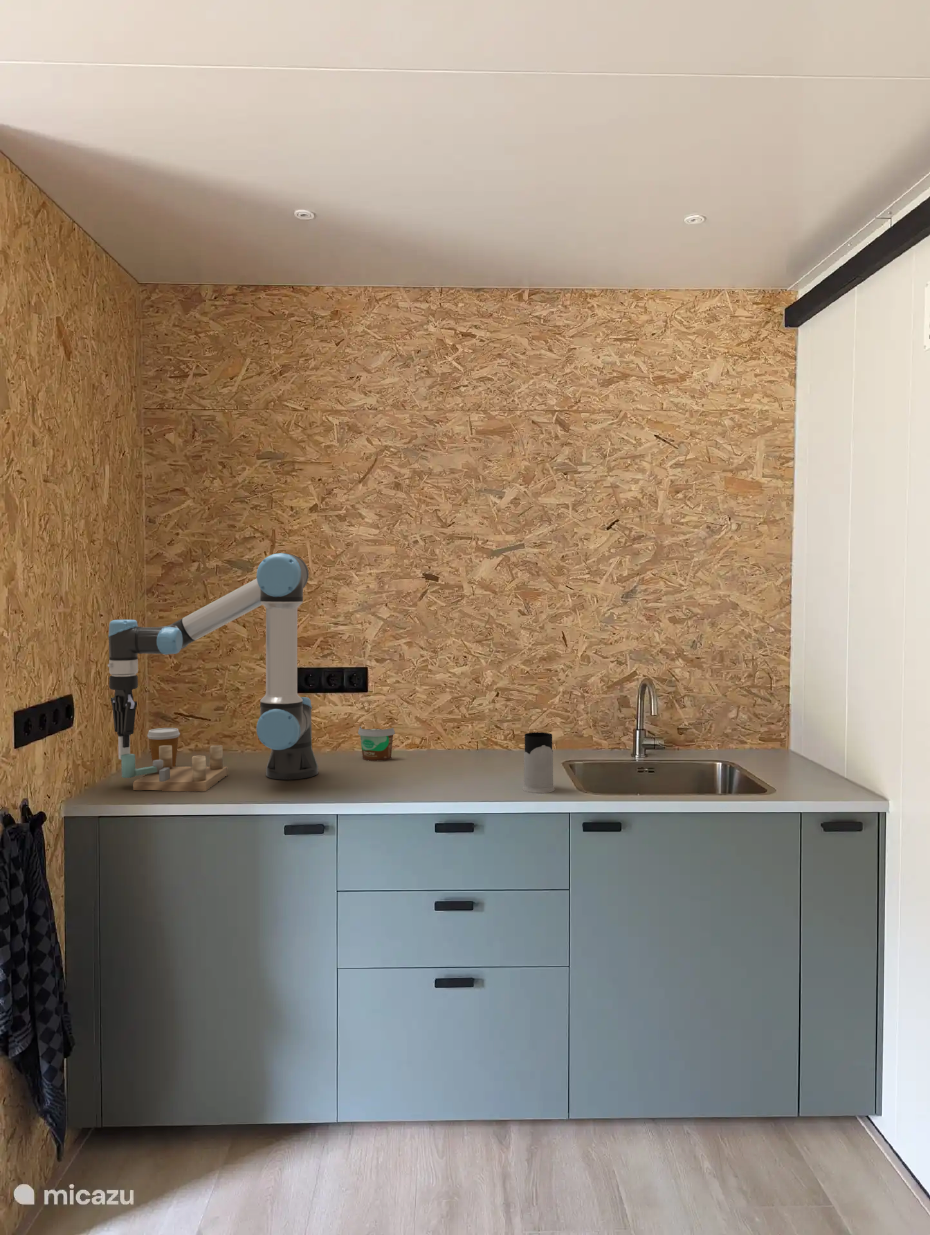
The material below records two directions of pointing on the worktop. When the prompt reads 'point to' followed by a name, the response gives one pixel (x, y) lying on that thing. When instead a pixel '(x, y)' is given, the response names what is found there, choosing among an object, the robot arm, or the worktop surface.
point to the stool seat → (186, 772)
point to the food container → (376, 743)
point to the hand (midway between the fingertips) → (124, 758)
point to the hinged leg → (130, 770)
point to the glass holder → (538, 763)
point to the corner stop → (164, 774)
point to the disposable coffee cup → (163, 741)
